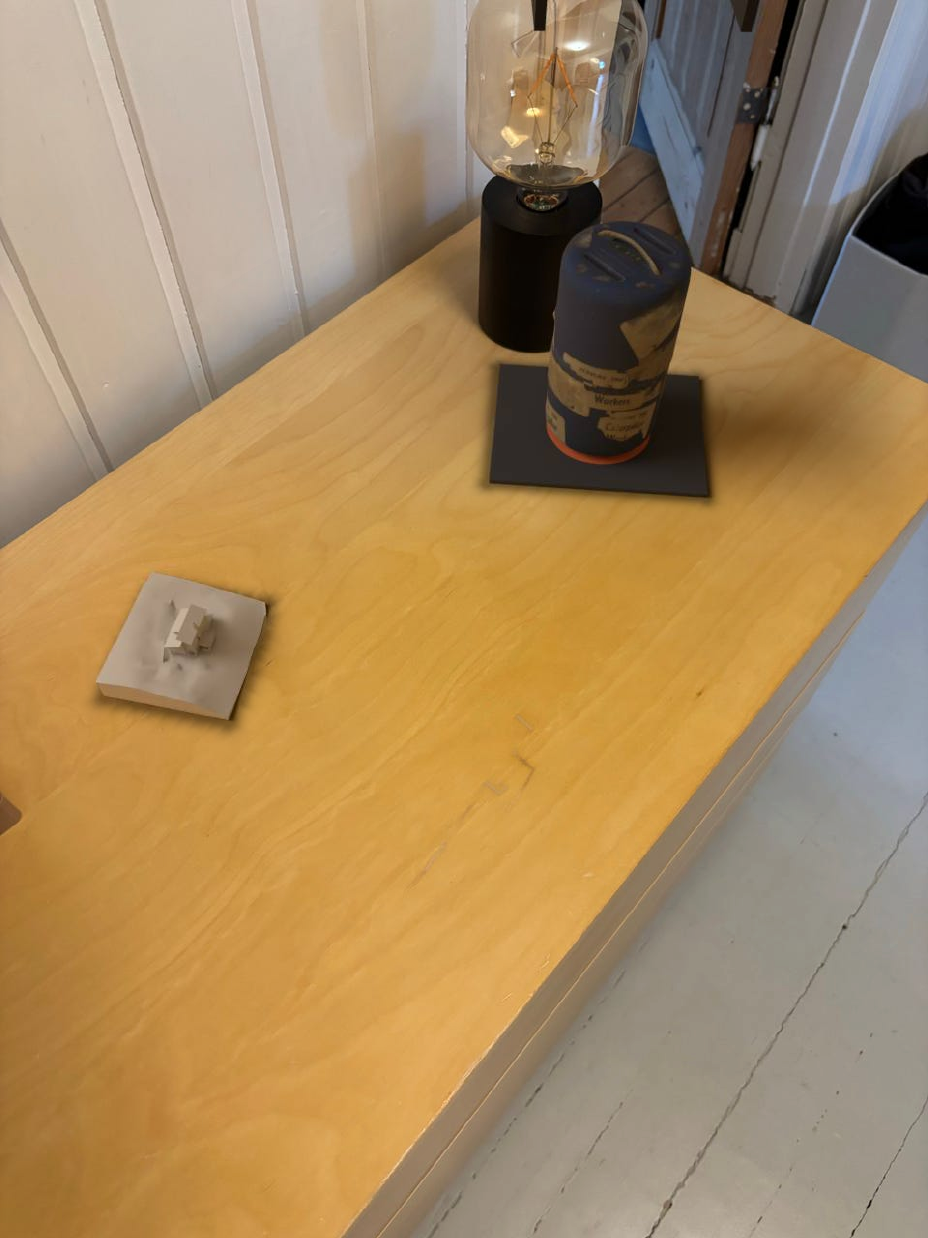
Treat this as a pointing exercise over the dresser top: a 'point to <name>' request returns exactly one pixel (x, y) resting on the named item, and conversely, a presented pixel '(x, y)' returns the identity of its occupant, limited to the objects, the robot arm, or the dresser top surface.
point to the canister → (614, 335)
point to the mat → (543, 460)
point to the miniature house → (184, 647)
